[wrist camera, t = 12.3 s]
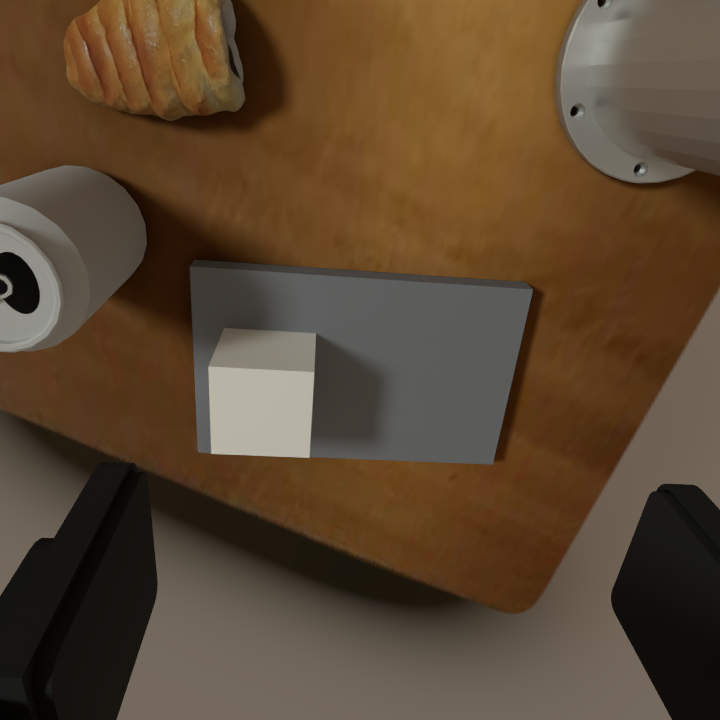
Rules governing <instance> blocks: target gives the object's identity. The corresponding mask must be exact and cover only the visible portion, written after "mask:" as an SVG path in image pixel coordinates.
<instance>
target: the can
mask: <svg viewBox="0 0 720 720" xmlns="http://www.w3.org/2000/svg"><path fill="white" fill-rule="evenodd" d="M146 245H147V238H146V225H145V222H144V220H143V217H142V215H141V212H140V210H139V207H138V205H137V204H136V203H135V201H134V200H133V199H132V197H131V196H130V195H129V194H128V192H127V191H126V190H125V188H123V187H122V186H121V185H119V184H118V183H117V182H115V181H114V180H113V179H111V178H110V177H109V176H107V175H105V174H103V173H100V172H98V171H95V170H93V169H90V168H87V167H80V166H67V165H65V166H61V167H57V168H53V169H49V170H46V171H43V172H40V173H36V174H33V175H30V176H27V177H24V178H21V179H18V180H15V181H12V182H9V183H6V184H3V185H0V352H18V351H36V350H40V349H44V348H48V347H52V346H56V345H57V344H59V343H60V342H62V341H63V340H65V339H67V338H68V337H70V336H71V335H73V334H74V333H75V332H76V331H77V330H78V329H79V328H80V327H81V326H82V325H83V324H84V323H85V322H86V321H87V320H88V319H89V318H90V317H91V316H92V315H93V314H94V313H95V312H96V311H97V310H98V309H99V308H100V307H101V306H102V305H103V304H104V303H105V302H106V301H107V300H108V299H109V298H110V297H111V296H112V295H113V294H114V293H115V292H116V291H117V289H118V288H119V287H120V286H121V285H122V284H123V283H124V282H125V281H126V280H127V279H128V278H129V277H130V276H131V275H132V274H133V273H134V272H135V270H136V269H137V267H138V266H139V265H140V263H141V262H142V260H143V257H144V253H145V249H146Z"/></svg>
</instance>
